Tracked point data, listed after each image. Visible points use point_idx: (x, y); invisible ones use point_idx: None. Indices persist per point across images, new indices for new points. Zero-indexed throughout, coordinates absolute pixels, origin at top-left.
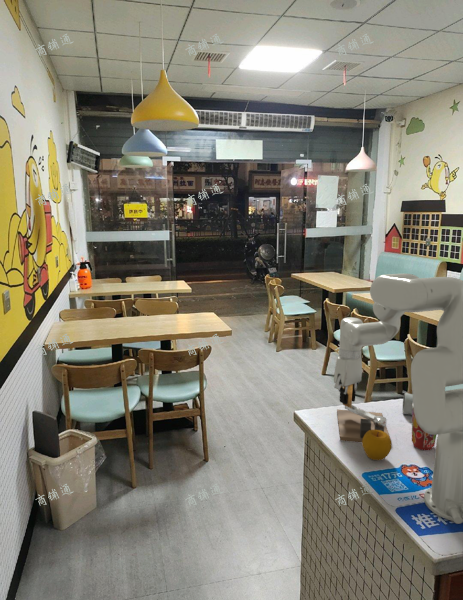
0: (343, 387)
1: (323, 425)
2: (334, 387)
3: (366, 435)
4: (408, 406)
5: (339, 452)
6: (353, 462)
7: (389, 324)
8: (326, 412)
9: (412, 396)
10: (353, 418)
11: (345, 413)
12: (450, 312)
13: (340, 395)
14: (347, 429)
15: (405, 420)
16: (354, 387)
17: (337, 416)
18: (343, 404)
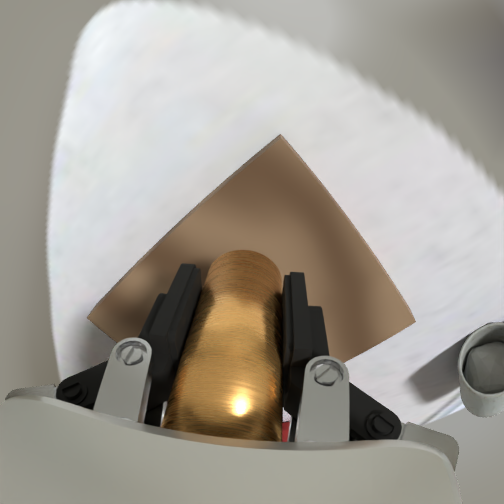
0: (177, 389)
1: (102, 189)
2: (10, 392)
3: None
4: (463, 388)
5: (63, 332)
6: (76, 367)
7: None
8: (231, 84)
9: (497, 404)
10: None
11: (274, 213)
12: None
13: (144, 325)
14: (143, 311)
15: (424, 361)
16: (288, 437)
17: (228, 178)
18: (207, 275)
